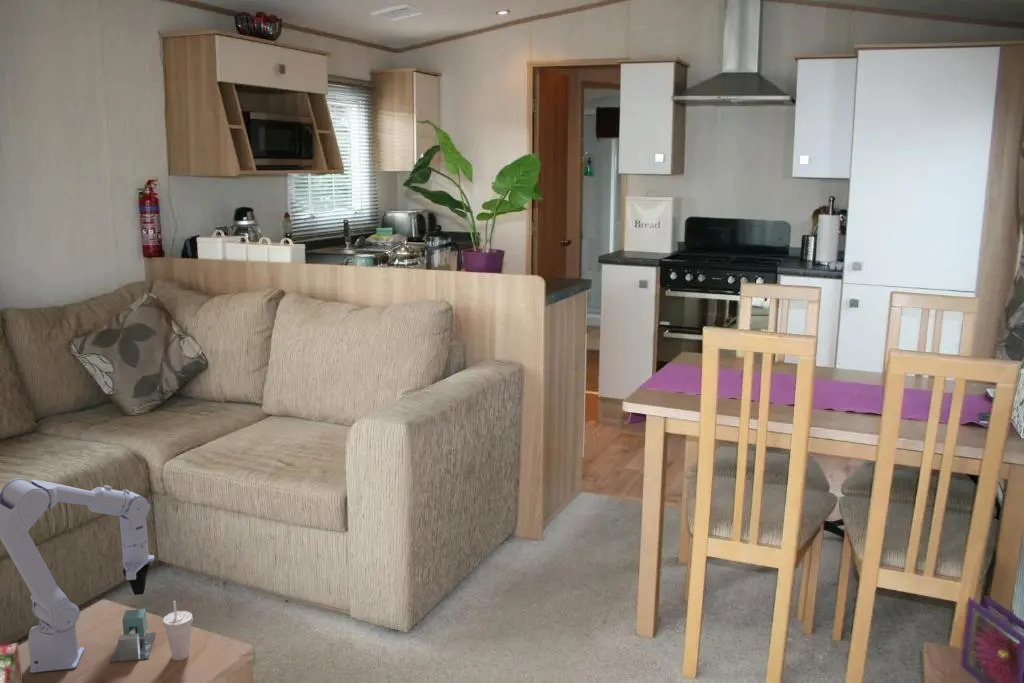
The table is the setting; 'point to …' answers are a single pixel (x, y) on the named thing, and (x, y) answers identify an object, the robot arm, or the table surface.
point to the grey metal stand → (133, 646)
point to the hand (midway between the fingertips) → (139, 593)
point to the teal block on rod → (135, 621)
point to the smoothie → (178, 632)
